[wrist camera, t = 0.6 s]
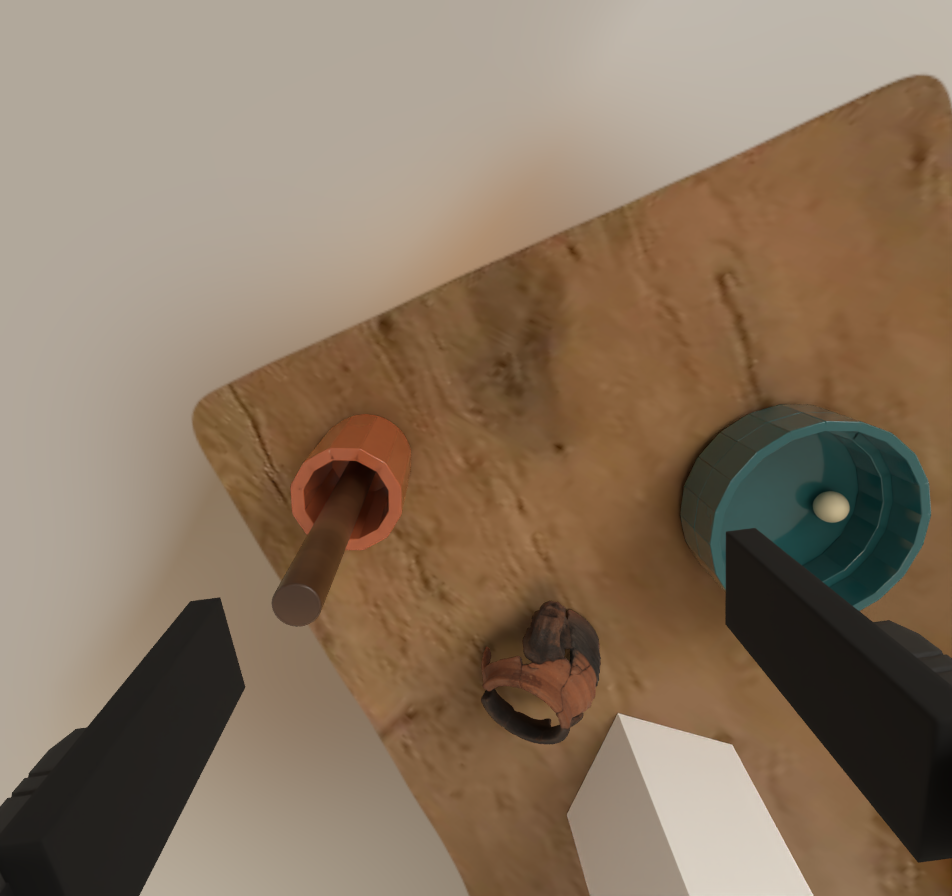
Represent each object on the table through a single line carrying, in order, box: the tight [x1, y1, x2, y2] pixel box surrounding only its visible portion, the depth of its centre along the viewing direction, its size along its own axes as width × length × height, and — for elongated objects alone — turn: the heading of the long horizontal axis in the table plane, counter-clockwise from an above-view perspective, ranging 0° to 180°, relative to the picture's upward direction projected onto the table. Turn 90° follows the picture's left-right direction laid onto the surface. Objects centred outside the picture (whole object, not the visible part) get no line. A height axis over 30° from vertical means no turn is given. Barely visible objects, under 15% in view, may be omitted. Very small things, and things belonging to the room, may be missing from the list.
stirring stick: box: [272, 461, 376, 626], centre depth 33 cm, size 2×2×20 cm
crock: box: [290, 414, 411, 550], centre depth 39 cm, size 7×7×9 cm
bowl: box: [680, 404, 931, 611], centre depth 42 cm, size 15×15×6 cm
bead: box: [813, 491, 850, 523], centre depth 44 cm, size 2×2×2 cm
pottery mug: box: [481, 601, 601, 744], centre depth 45 cm, size 12×10×8 cm
